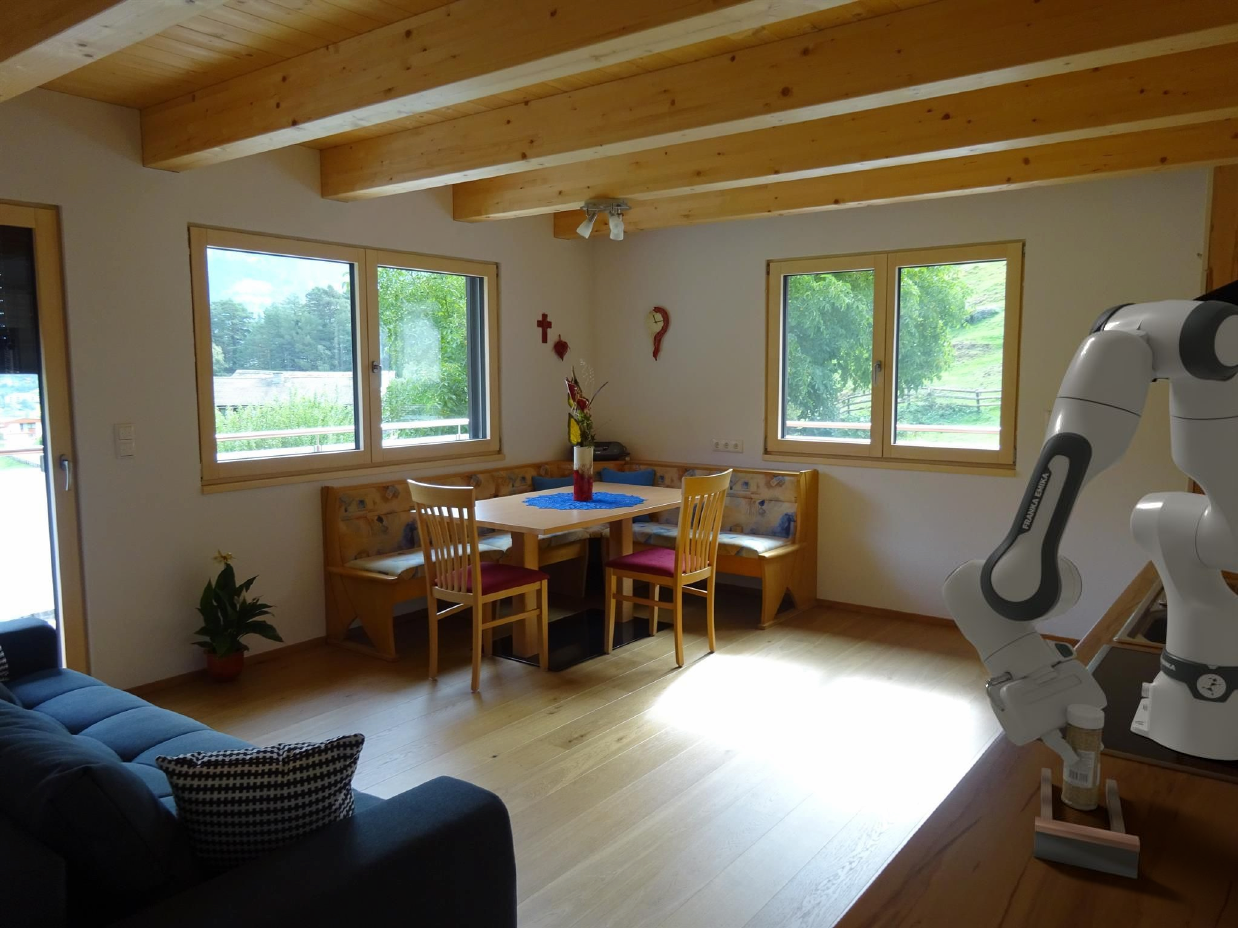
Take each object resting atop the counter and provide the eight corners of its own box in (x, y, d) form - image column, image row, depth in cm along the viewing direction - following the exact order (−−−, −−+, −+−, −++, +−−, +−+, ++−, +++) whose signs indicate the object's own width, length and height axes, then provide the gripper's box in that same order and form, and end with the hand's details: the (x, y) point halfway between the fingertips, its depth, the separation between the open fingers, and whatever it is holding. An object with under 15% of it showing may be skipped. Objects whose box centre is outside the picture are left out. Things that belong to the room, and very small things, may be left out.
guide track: (1034, 779, 131) (1036, 751, 131) (1122, 795, 127) (1124, 766, 126) (1033, 856, 111) (1035, 824, 111) (1137, 878, 107) (1140, 845, 106)
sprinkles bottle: (1104, 805, 124) (1111, 710, 122) (1085, 815, 121) (1092, 718, 120) (1071, 791, 128) (1078, 699, 126) (1053, 800, 125) (1059, 706, 123)
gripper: (996, 670, 122) (1062, 767, 115) (1077, 642, 133) (1141, 728, 127) (964, 692, 126) (1027, 787, 119) (1045, 662, 138) (1106, 747, 131)
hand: (1087, 756), depth 123 cm, fingers closed on sprinkles bottle, 4 cm apart
